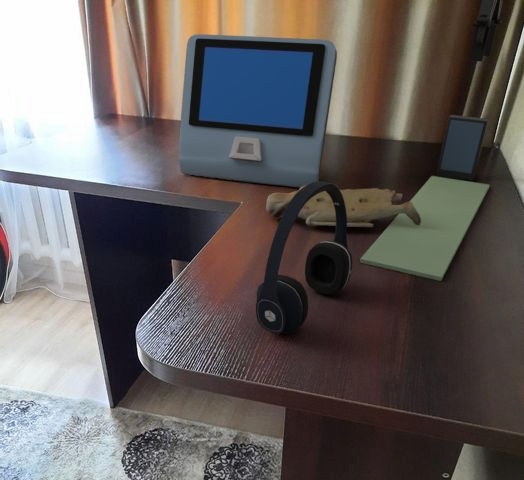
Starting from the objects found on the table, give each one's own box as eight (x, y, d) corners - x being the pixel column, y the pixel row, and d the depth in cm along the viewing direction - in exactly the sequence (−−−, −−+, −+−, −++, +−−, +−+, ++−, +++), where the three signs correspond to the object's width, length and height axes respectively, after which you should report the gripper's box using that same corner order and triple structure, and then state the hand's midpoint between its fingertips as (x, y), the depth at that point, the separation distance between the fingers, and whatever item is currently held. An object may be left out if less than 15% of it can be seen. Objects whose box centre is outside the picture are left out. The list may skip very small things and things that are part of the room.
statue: (413, 198, 104) (269, 214, 108) (416, 168, 98) (264, 186, 102) (421, 232, 98) (269, 248, 102) (426, 202, 93) (263, 219, 96)
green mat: (489, 188, 123) (490, 184, 122) (441, 281, 83) (442, 277, 82) (431, 178, 128) (431, 175, 127) (359, 262, 88) (360, 258, 88)
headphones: (316, 277, 83) (326, 163, 73) (354, 288, 80) (371, 171, 70) (247, 332, 70) (246, 202, 59) (289, 348, 67) (297, 214, 56)
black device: (474, 178, 129) (489, 118, 121) (472, 181, 127) (487, 121, 119) (438, 172, 132) (451, 114, 124) (435, 175, 130) (448, 117, 122)
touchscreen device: (176, 177, 125) (167, 34, 109) (207, 159, 141) (202, 32, 124) (315, 193, 117) (327, 41, 100) (330, 172, 133) (344, 38, 116)
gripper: (494, -53, 117) (471, 53, 129) (479, -62, 99) (454, 62, 111) (529, -54, 114) (502, 54, 127) (520, -63, 96) (490, 64, 108)
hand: (479, 58), depth 119 cm, fingers open, 13 cm apart
